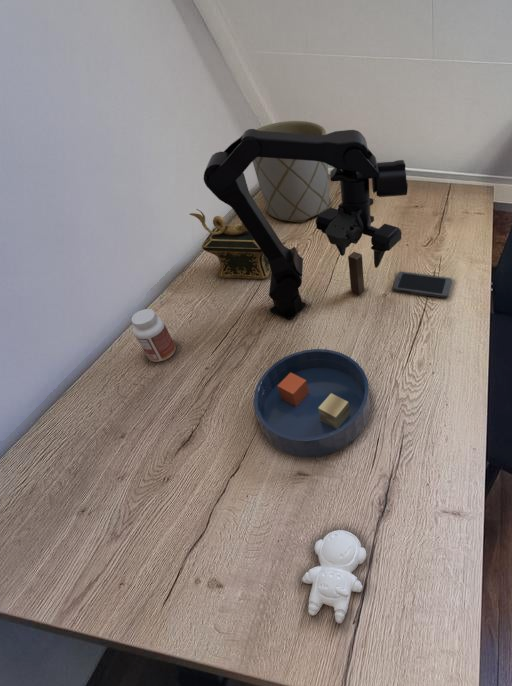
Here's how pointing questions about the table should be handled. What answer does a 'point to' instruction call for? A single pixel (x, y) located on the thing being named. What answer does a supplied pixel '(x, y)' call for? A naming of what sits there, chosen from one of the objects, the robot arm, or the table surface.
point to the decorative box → (235, 250)
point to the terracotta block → (293, 389)
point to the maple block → (334, 411)
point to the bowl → (312, 403)
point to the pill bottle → (153, 335)
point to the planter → (293, 179)
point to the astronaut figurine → (335, 572)
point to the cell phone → (422, 284)
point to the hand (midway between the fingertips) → (359, 260)
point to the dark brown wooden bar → (356, 273)
